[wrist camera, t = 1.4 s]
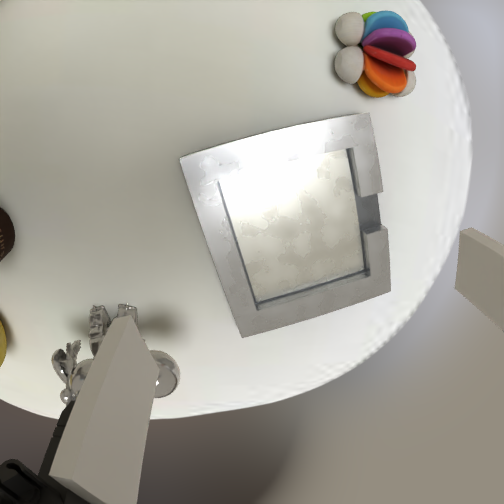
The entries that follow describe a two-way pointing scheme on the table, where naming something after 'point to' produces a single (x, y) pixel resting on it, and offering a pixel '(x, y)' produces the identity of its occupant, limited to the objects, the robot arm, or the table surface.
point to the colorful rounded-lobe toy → (376, 53)
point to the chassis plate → (293, 220)
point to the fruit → (2, 344)
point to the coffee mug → (6, 234)
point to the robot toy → (76, 372)
